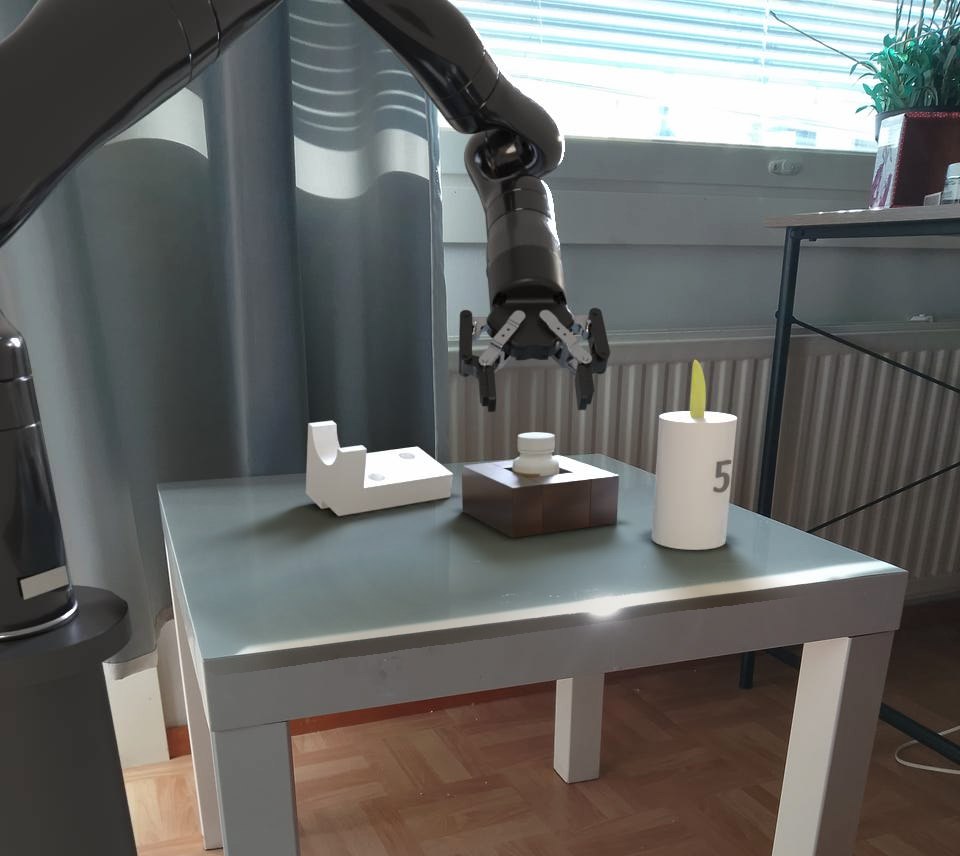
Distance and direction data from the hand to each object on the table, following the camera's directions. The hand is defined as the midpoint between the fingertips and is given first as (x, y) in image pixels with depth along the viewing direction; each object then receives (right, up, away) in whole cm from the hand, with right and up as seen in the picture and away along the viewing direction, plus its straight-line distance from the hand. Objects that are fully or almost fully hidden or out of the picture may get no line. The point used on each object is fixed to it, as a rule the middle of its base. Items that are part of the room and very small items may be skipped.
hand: (538, 405), depth 86 cm
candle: (+13, -13, -5) cm, 19 cm away
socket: (0, -10, +3) cm, 10 cm away
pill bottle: (0, -10, +3) cm, 11 cm away
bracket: (-15, -8, +9) cm, 19 cm away
